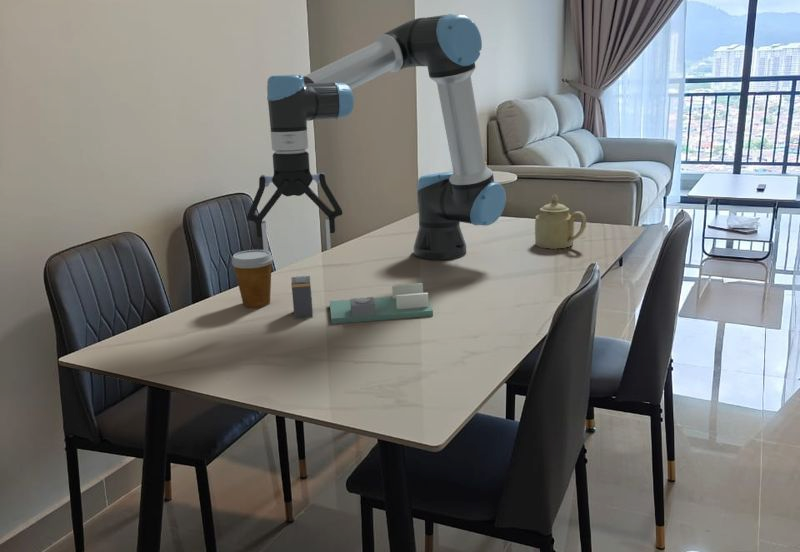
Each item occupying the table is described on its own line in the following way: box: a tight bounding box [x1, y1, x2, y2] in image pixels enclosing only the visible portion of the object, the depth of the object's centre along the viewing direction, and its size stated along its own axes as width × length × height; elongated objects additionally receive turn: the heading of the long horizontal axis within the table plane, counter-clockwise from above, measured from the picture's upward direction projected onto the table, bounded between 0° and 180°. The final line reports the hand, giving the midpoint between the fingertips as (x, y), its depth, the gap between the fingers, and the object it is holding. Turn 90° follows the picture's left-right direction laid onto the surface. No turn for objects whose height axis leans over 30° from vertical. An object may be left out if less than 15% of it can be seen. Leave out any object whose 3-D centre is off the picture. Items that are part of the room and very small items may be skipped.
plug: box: [290, 275, 314, 319], centre depth 158 cm, size 5×4×9 cm
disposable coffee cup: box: [231, 249, 274, 309], centre depth 166 cm, size 10×10×12 cm
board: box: [329, 282, 434, 325], centre depth 159 cm, size 12×22×4 cm, turn 97°
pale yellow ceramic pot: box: [534, 194, 587, 250], centre depth 208 cm, size 15×11×15 cm
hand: (297, 249), depth 155 cm, fingers open, 13 cm apart
